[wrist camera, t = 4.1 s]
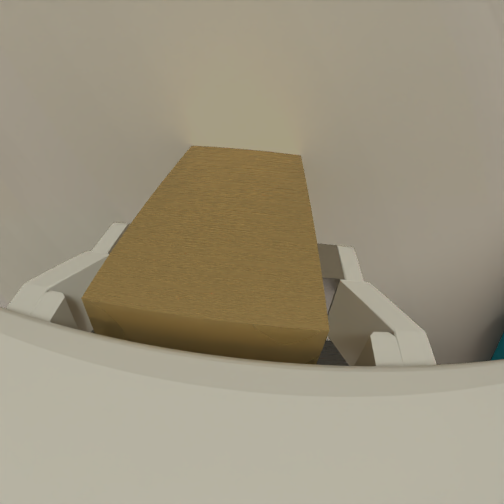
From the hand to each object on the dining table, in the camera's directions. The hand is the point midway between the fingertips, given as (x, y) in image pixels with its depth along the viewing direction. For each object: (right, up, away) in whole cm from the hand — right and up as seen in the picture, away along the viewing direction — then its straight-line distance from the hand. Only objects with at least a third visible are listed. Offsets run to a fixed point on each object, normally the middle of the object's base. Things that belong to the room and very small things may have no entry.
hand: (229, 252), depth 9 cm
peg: (0, +2, +3) cm, 4 cm away
